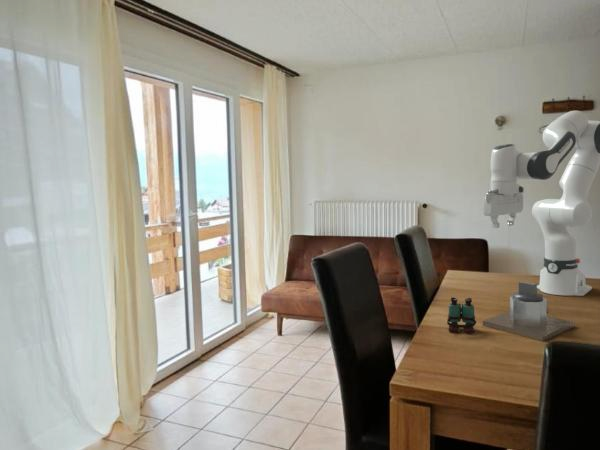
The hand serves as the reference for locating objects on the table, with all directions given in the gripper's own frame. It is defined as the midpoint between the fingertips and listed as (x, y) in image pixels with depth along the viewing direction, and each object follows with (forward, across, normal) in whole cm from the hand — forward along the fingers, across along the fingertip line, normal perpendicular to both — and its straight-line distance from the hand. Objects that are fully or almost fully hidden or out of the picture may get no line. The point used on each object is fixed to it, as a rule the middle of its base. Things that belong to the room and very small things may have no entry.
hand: (503, 226), depth 165 cm
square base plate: (+31, -12, -16) cm, 37 cm away
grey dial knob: (+24, -12, -16) cm, 31 cm away
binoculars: (+31, -32, -5) cm, 45 cm away
